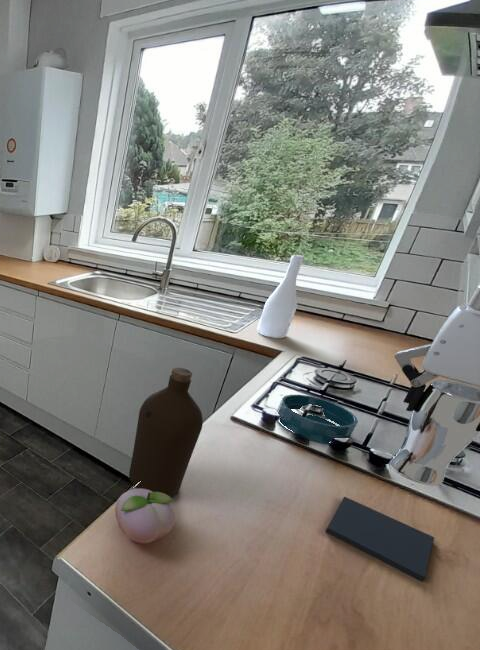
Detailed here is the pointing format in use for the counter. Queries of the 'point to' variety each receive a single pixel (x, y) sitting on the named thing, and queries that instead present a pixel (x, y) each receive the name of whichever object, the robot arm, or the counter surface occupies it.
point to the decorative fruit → (144, 515)
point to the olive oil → (166, 436)
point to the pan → (316, 419)
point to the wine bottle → (281, 304)
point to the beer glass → (438, 431)
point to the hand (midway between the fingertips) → (446, 418)
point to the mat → (382, 537)
